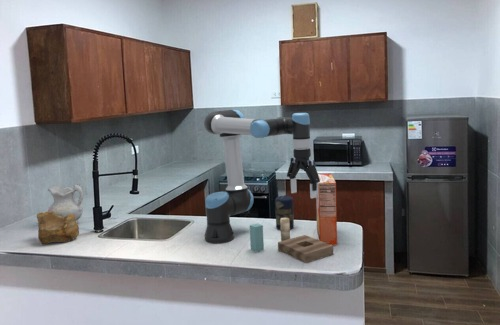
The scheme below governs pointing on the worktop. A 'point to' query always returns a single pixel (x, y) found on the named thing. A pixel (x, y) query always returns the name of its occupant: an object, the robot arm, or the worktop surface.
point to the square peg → (256, 237)
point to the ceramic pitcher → (66, 201)
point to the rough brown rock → (56, 227)
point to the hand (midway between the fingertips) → (303, 195)
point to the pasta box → (326, 209)
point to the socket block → (305, 248)
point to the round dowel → (285, 229)
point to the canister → (284, 210)
